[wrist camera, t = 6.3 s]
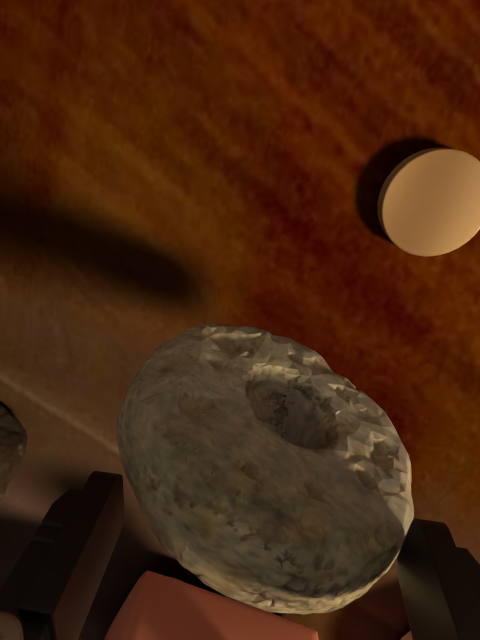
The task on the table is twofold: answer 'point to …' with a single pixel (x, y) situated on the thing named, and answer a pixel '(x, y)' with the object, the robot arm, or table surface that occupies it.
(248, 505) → the stone ring
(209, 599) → the teapot
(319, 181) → the table surface
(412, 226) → the spoon
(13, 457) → the dark brown bone
